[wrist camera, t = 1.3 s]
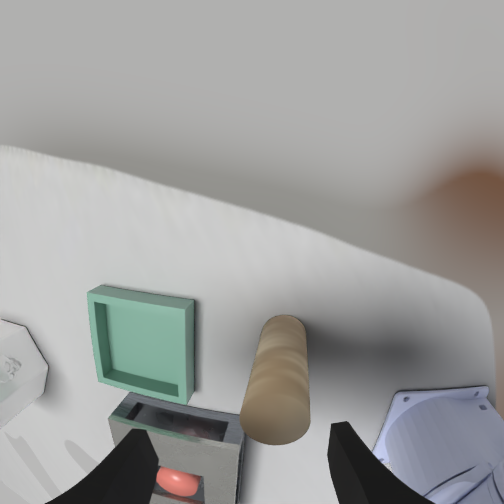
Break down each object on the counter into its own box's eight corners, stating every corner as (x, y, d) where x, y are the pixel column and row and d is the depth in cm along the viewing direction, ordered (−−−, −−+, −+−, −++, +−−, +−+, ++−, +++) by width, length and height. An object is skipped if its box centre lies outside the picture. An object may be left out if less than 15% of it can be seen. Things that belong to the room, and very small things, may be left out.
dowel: (308, 317, 20) (315, 397, 11) (302, 356, 21) (304, 447, 12) (263, 312, 21) (241, 390, 12) (259, 352, 21) (237, 440, 12)
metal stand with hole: (246, 416, 22) (238, 450, 18) (238, 501, 25) (232, 530, 21) (130, 391, 23) (107, 418, 20) (147, 480, 26) (133, 505, 22)
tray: (194, 299, 21) (185, 309, 19) (194, 391, 22) (186, 404, 21) (100, 285, 22) (86, 292, 20) (109, 370, 23) (98, 381, 21)
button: (200, 466, 21) (195, 477, 20) (201, 489, 22) (197, 499, 20) (159, 456, 22) (153, 466, 20) (163, 479, 22) (158, 489, 21)
